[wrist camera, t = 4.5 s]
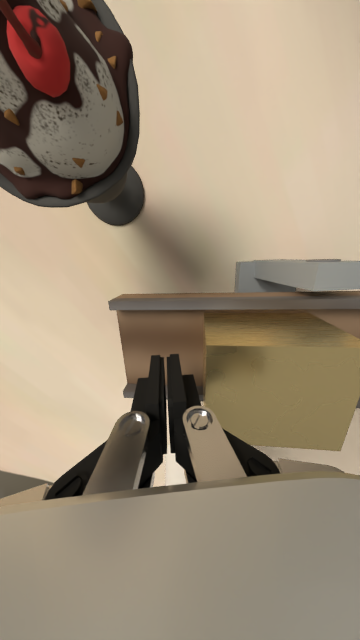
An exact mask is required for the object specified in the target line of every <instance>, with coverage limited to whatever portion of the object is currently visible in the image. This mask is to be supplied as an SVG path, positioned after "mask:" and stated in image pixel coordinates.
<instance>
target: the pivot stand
mask: <svg viewBox="0 0 360 640" xmlns="http://www.w3.org/2000/svg"><path fill="white" fill-rule="evenodd" d="M296 288H301V289H305V290H310V291H329V290H349V289H360V261H341V260H340V259H319V260H286V259H281V260H254V261H251V262H237V263H236V278H235V293H250V292H295V291H296Z"/></svg>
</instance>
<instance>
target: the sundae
mask: <svg viewBox="0 0 360 640" xmlns="http://www.w3.org/2000/svg"><path fill="white" fill-rule="evenodd" d="M132 62H133V52H132V47H131V44H130V42H129V40H128V39H127V37H126V36H125V35H124V34H123V31H122V30H121V28H120V26H119V24H118V23H117V21H116V19H115V17H114V15H113V14H112V12H111V10H110V9H109V7H108V6H107V5H106V3H105V2H104V0H0V187H1V188H3V189H4V190H6V191H7V192H9V193H10V194H12V195H14V196H16V197H18V198H19V199H21V200H23V201H25V202H28V203H31V204H34V205H37V206H42V207H70V206H74V205H77V204H81V203H84V202H87V204H88V206H89V208H90V209H91V210H92V212H93V213H94V214H95V215H96V216H97V217H98V218H99V219H101V220H102V221H104V222H106V223H108V224H113V225H123V224H126V223H129V222H131V221H132V220H133V219H134V218H135V217H136V216H137V215H138V214H139V212H140V210H141V208H142V205H143V199H144V190H143V186H142V182H141V180H140V177H139V175H138V174H137V172H136V171H135V170H134V168H133V167H132V166H131V165H132V162H133V160H134V157H135V154H136V150H137V144H138V138H139V117H140V112H139V97H138V84H137V80H136V76H135V71H134V67H133V63H132Z"/></svg>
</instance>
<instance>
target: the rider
mask: <svg viewBox="0 0 360 640" xmlns="http://www.w3.org/2000/svg"><path fill="white" fill-rule="evenodd" d="M359 397H360V339H359V338H357V337H355V336H353V335H351V334H349V333H347V332H345V331H343V330H341V329H339V328H337V327H335V326H334V325H332V324H330V323H328V322H326V321H324V320H322V319H320V318H318V317H316V316H314V315H312V314H310V313H204V324H203V404H204V407H207V408H209V409H210V410H211V411H213V413H214V414H215V416H216V418H217V420H218V422H219V423H220V425H221V427H222V428H223V429H224V430H226V431H228V432H229V433H231V434H233V435H234V436H236V437H237V438H239V439H241V440H242V441H244V442H246V443H247V444H249V445H258V446H273V447H287V448H302V449H317V450H331V451H341V448H342V445H343V442H344V439H345V436H346V434H347V431H348V428H349V425H350V422H351V420H352V417H353V414H354V411H355V408H356V406H357V403H358V400H359Z"/></svg>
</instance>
